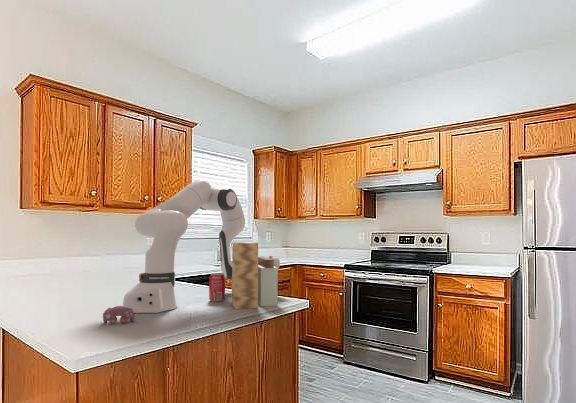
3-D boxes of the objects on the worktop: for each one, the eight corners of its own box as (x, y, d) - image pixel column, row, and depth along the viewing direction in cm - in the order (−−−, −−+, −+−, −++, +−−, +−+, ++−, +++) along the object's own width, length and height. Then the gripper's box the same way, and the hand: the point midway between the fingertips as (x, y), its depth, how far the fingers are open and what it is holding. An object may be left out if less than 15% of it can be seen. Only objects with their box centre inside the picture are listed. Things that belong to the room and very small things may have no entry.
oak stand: (235, 308, 157) (236, 243, 159) (231, 303, 169) (232, 242, 171) (257, 307, 159) (258, 243, 161) (252, 302, 171) (253, 242, 173)
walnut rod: (265, 268, 164) (265, 259, 164) (256, 263, 185) (256, 256, 185) (273, 267, 165) (273, 259, 165) (263, 263, 186) (263, 256, 186)
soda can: (217, 299, 180) (218, 272, 181) (228, 300, 175) (228, 273, 176) (205, 301, 174) (206, 273, 175) (216, 302, 170) (216, 274, 171)
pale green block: (260, 306, 163) (261, 268, 164) (254, 299, 178) (254, 264, 179) (277, 305, 164) (277, 267, 166) (269, 299, 180) (269, 264, 181)
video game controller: (102, 329, 130) (101, 311, 127) (103, 320, 134) (103, 303, 131) (134, 327, 133) (134, 310, 130) (135, 318, 137) (135, 301, 134)
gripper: (234, 264, 193) (238, 251, 182) (275, 263, 198) (281, 250, 187) (235, 276, 189) (239, 263, 178) (277, 275, 195) (283, 263, 184)
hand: (261, 257), depth 183 cm, fingers open, 8 cm apart
